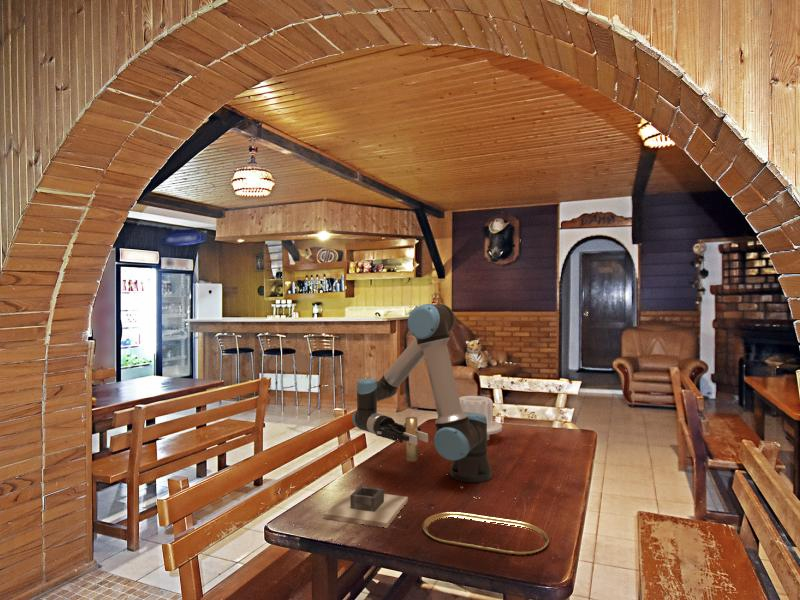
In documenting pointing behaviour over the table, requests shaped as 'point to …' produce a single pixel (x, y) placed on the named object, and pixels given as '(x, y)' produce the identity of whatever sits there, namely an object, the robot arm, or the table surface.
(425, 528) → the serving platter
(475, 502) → the table surface
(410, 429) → the brass post
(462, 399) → the flanged gear
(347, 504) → the socket board
